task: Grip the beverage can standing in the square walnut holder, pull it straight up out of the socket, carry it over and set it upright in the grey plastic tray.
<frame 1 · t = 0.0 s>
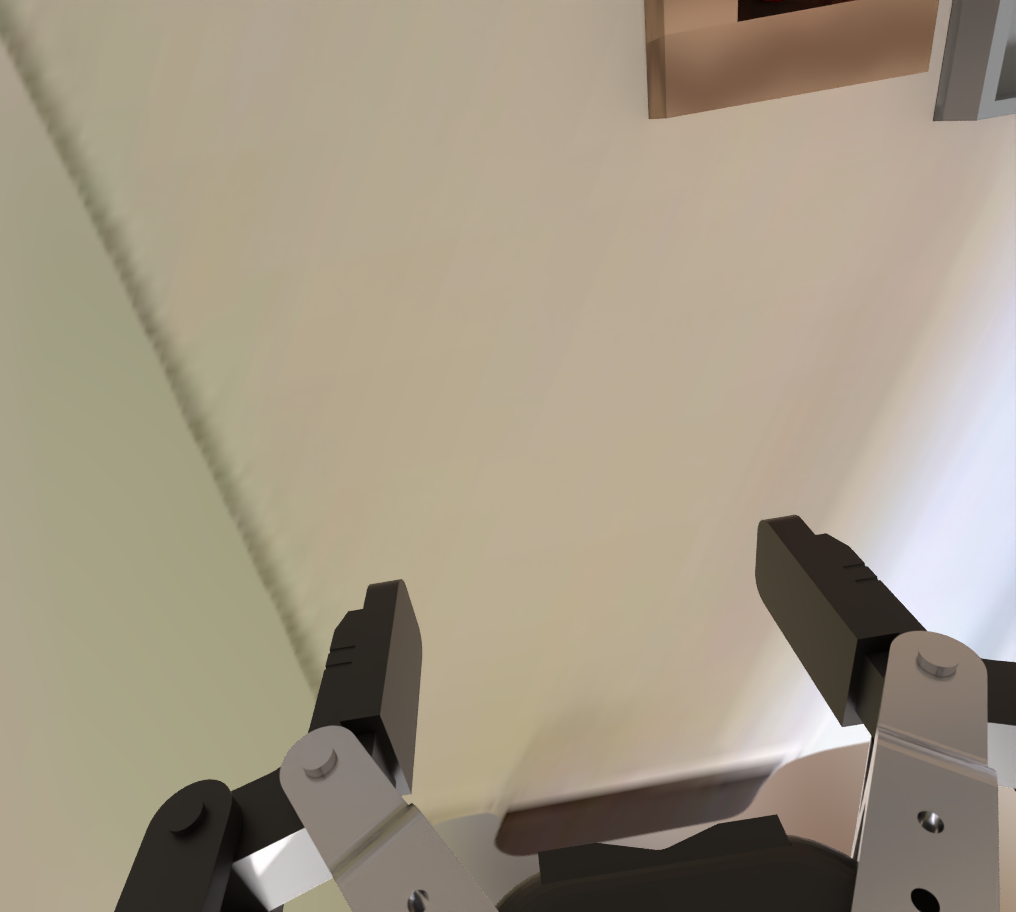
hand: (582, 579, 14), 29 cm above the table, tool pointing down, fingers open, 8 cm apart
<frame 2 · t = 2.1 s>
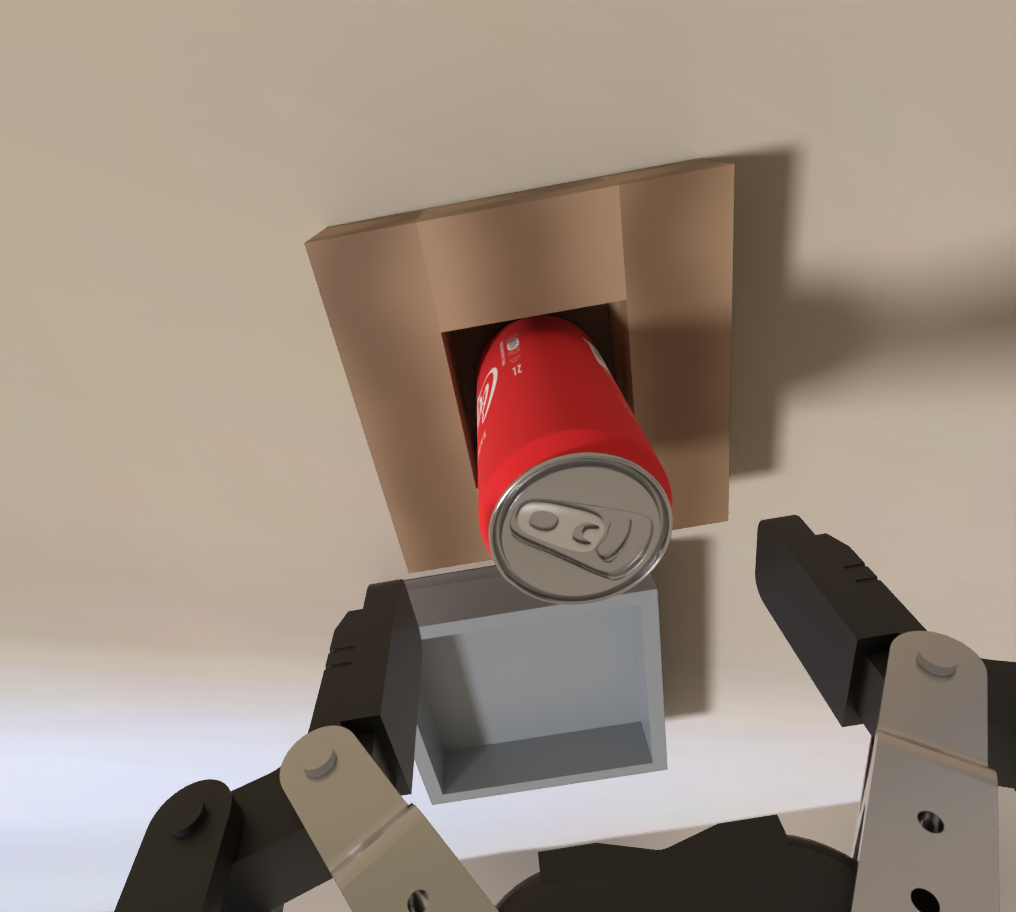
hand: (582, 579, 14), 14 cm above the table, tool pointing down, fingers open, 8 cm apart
socket holder: (536, 368, 26), on the table
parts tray: (526, 656, 34), on the table
beverage can: (536, 366, 26), resting in socket holder
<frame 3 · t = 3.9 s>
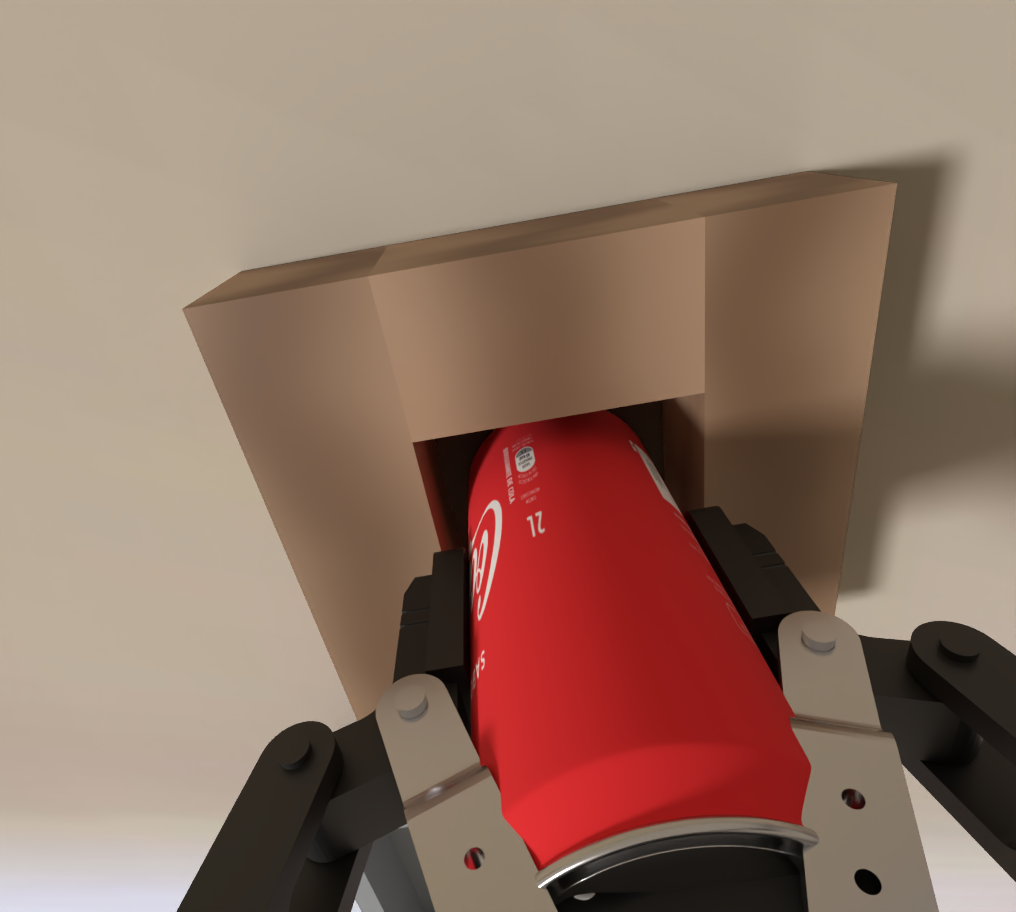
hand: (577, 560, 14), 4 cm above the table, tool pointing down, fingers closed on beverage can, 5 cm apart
socket holder: (554, 466, 18), on the table
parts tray: (532, 809, 26), on the table
beverage can: (553, 463, 18), resting in socket holder, touching gripper
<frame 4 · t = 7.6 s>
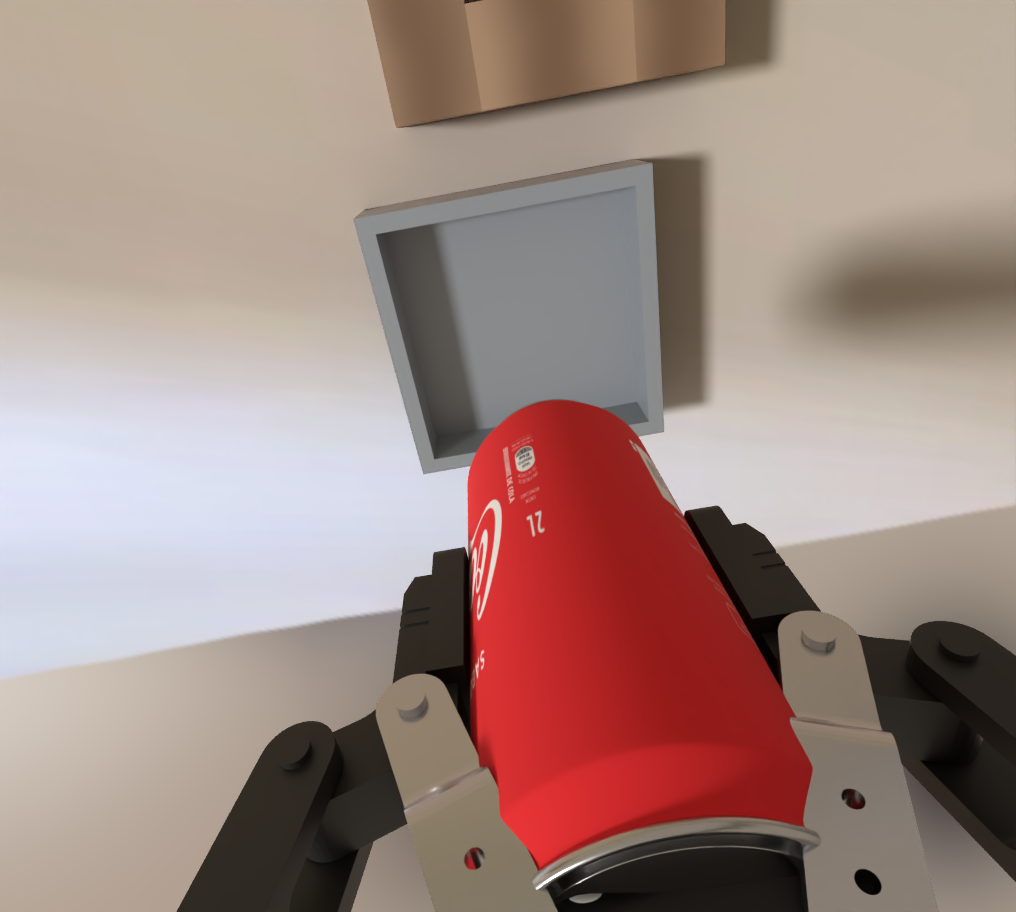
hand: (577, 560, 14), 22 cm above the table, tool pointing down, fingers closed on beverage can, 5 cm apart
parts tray: (519, 317, 33), on the table
beverage can: (553, 462, 18), point 17 cm above the table, touching gripper
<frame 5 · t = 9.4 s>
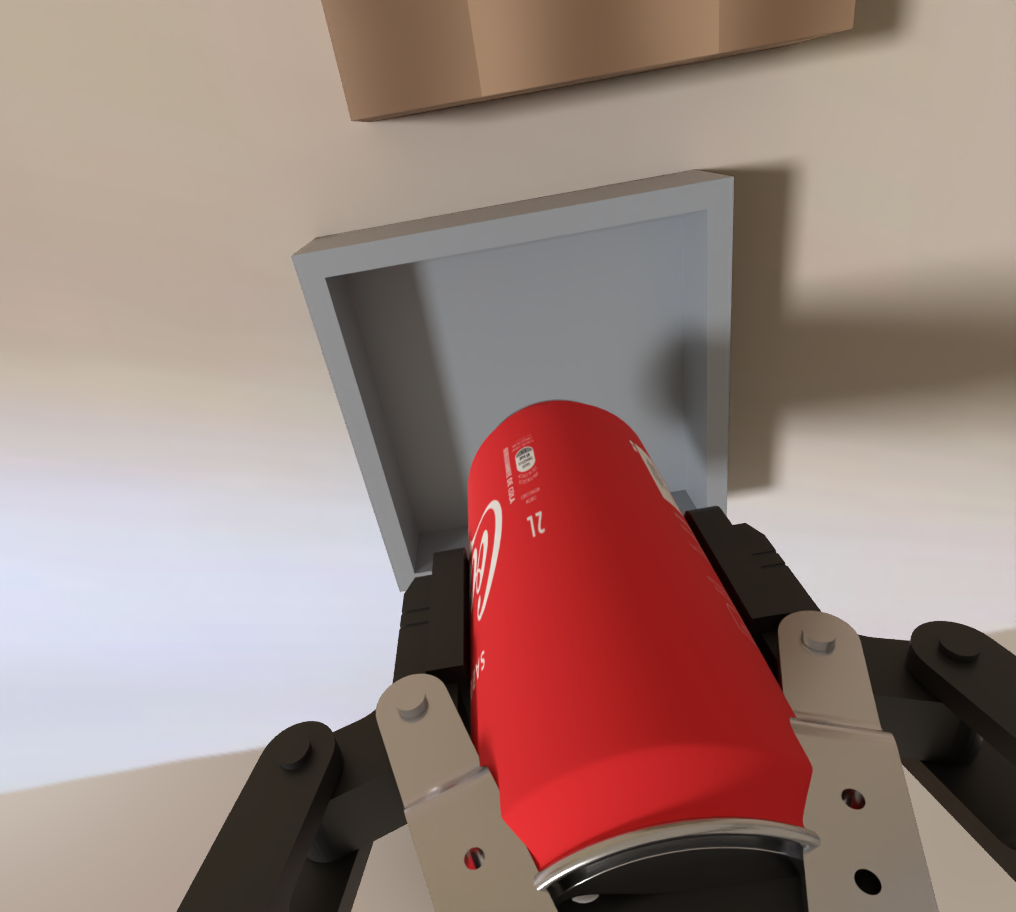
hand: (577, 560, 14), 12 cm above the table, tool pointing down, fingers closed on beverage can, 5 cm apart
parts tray: (530, 381, 25), on the table
beverage can: (553, 463, 18), point 7 cm above the table, touching gripper
when the fingers open (7 cm above the table, at t = 11.3 s): beverage can drops 2 cm, resting on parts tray.
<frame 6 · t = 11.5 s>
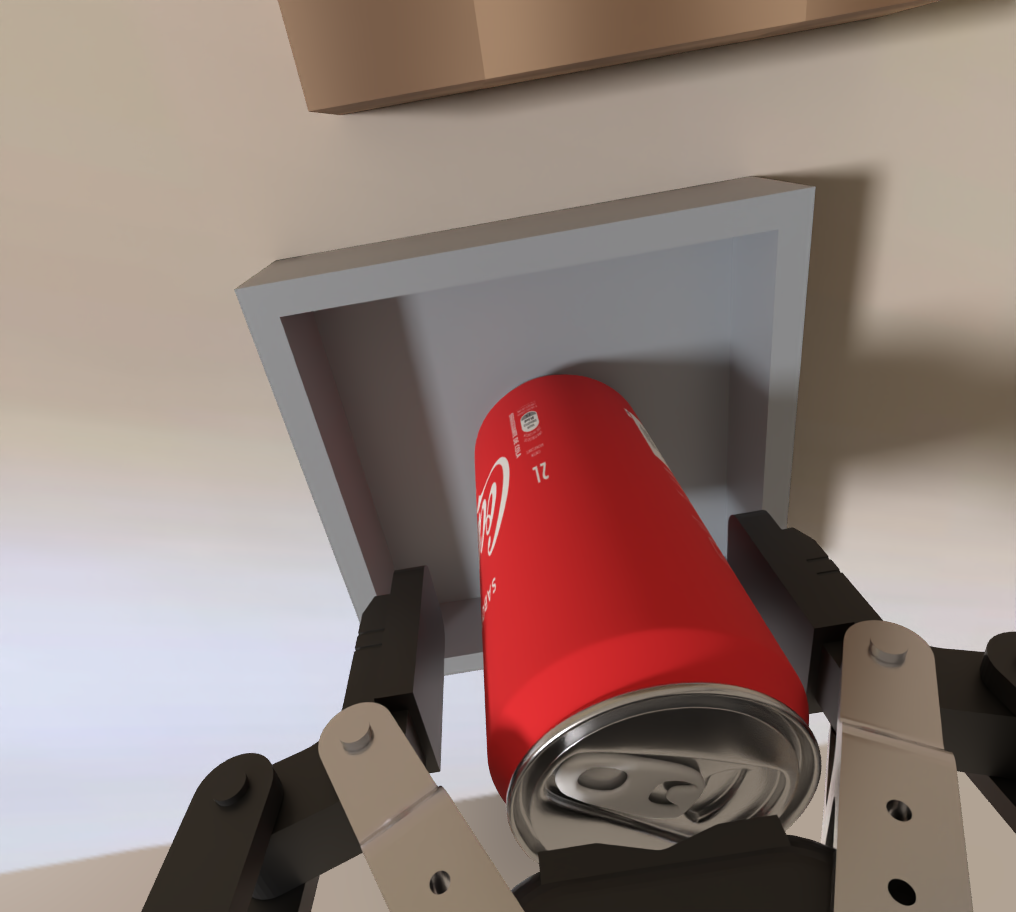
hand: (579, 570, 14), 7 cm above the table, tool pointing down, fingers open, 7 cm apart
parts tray: (542, 431, 20), on the table
beverage can: (553, 434, 20), point 1 cm above the table, touching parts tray
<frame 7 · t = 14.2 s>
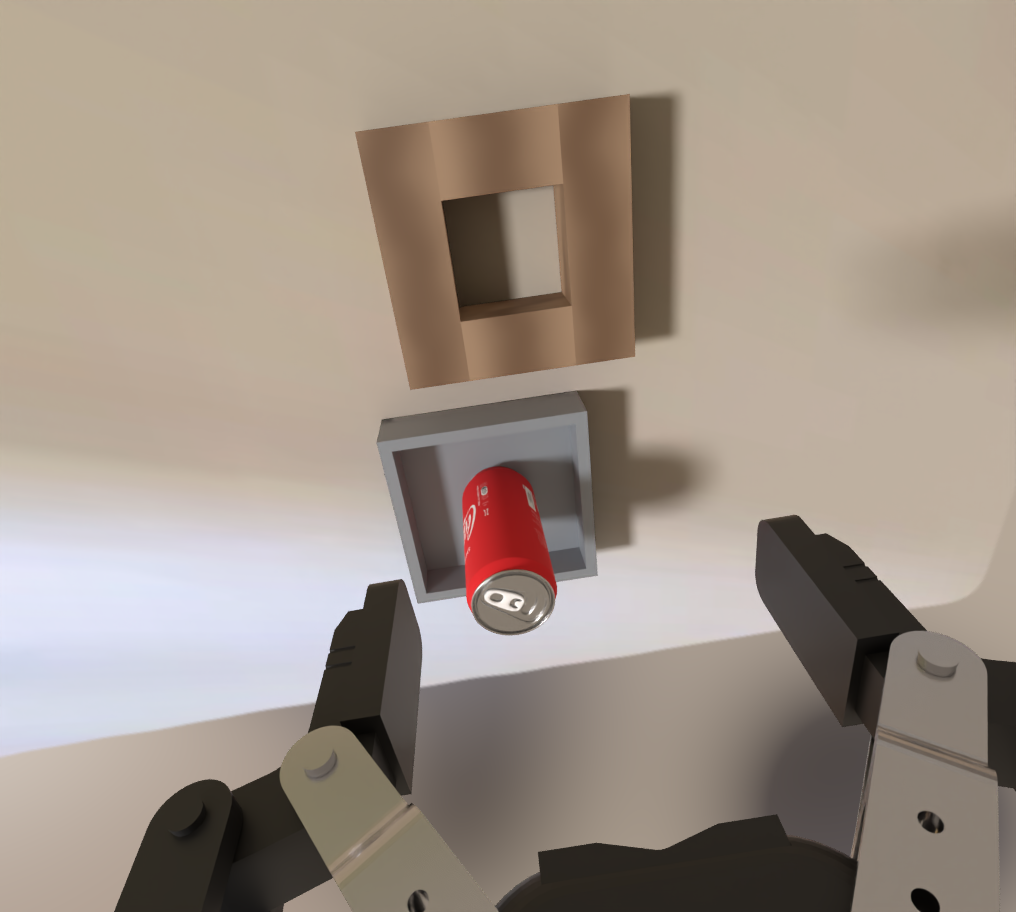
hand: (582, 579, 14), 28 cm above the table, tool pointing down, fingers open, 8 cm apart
socket holder: (504, 245, 37), on the table
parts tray: (492, 488, 45), on the table
beverage can: (497, 490, 44), point 1 cm above the table, touching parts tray
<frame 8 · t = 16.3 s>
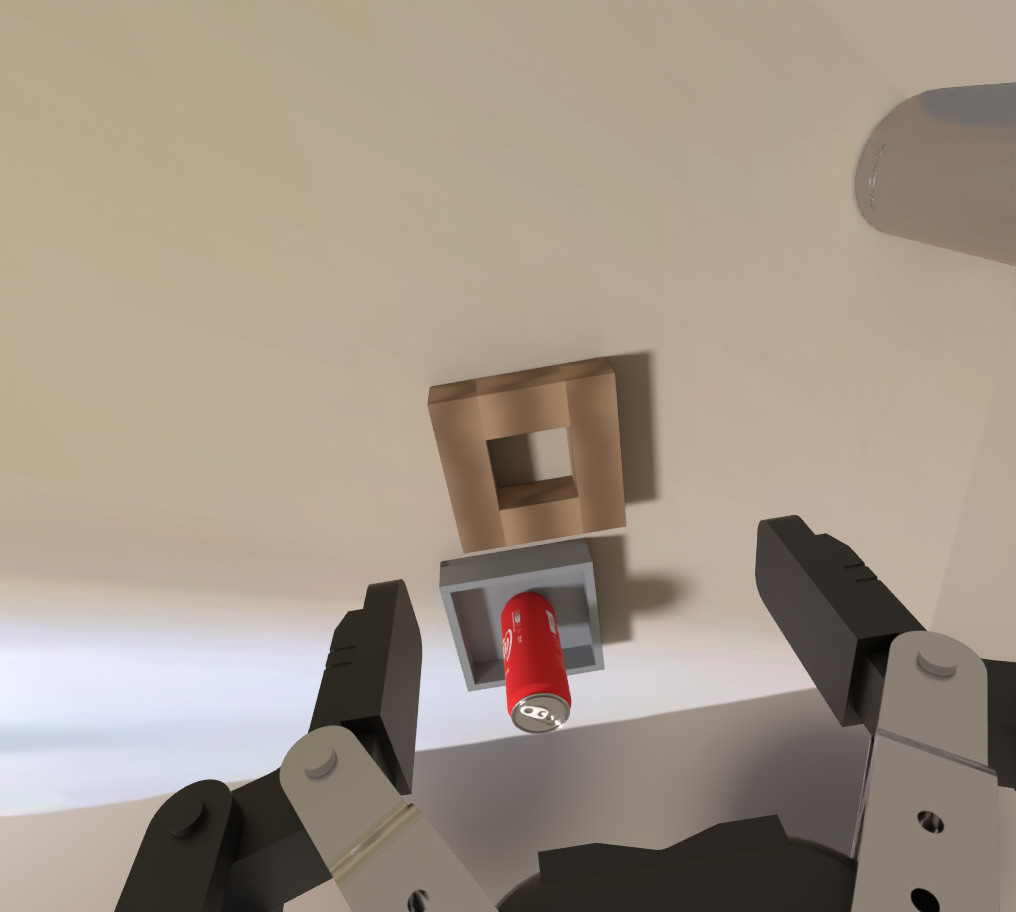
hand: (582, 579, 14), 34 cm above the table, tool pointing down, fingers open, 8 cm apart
socket holder: (529, 449, 51), on the table
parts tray: (523, 604, 59), on the table
beverage can: (526, 607, 58), point 1 cm above the table, touching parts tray
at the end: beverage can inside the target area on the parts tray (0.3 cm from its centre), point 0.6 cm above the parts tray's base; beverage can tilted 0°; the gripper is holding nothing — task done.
